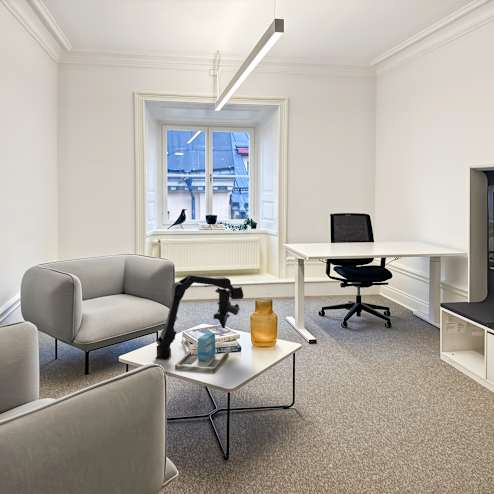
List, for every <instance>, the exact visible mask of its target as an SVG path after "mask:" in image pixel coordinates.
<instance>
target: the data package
mask: <svg viewBox="0 0 494 494" xmlns="http://www.w3.org/2000/svg"><path fill="white" fill-rule="evenodd" d="M215 355H216V334H215V333H211V332H206V333H204V334H203V335H201V336H199V337H198V338H197V360H198V361H202V362H207V361H209V360H210V359H212V358H213V357H214V356H215Z"/></svg>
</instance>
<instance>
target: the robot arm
mask: <svg viewBox="0 0 494 494" xmlns="http://www.w3.org/2000/svg"><path fill="white" fill-rule="evenodd" d="M193 284H202V285H209V286H210V285H211V286H215V287H217V289H216V290H214V292H215V293H217V294H218V302H217V305H218V309H217V311H216V313H214V314H213V320H218V322H219V324H220V326H221V329H225V328H226V324H227V321H228V319H229V318H230V317H231V314H232V315H234V316H237V315H239V312H240V306H239V304H237V303H236V304H235V305H233V304H232V302H231V301H230V300H232V301H233V300H243V298H244V291H243V287H242V286H235V287H234V286H233V285H232V282H231V280H230V279H229V278H227V277H226V276H216V277H215V276H213V277H211V276H205V275H203V276H202V275H196V274H191V273H190V274H188V275H187V276H186V277H183V278H181V279H180V280H178V281H176V282H174V283H173V284H172V286H171V303H170V306H169V310H168V314H167V319H166V323H165V325H164V326H163V328H162V330H161V333H160V336H159V337H158V338H157V339H156V345H157V346H156V356H155V359H157V360H168V359H170V358H171V357H172V349H171V345H172V343H174V340H176V335H177V330H176V329H175V323H176V320H177V315H178V311H179V308H180V307H179V306H180V302H181V300H182V299H183V297H184V295H185V293H186V290H188V289H189V288H190V287H191V286H192V285H193ZM229 313H230V314H229Z"/></svg>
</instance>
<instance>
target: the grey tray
mask: <svg viewBox="0 0 494 494" xmlns="http://www.w3.org/2000/svg"><path fill="white" fill-rule="evenodd" d="M228 356H229V351H228V350H226V351H225V353H224V354H223V355H222V356H221V358H220V359H219V361H218V362H217V364H216V365H215V366H212V367H210V366H208V367H207V366H198V365H197V366H196V365H189V364H184V362H185V361H186V360H187V359H188V358H189V357H192V355H191V350H189V352H187V353H186V354H185V355H184V356H183V357H182V358H181V359H179V361H177V363H175V365H174V369H175V370H180V371H181V370H183V371H189V372H190V371H191V372H203V373H212V374H213V373H216V371H217V370H218V369H219V368H220V366H221V365H222V364H223V363H224V362H225V360H226V359H227V358H228Z"/></svg>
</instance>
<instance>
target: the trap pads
mask: <svg viewBox="0 0 494 494" xmlns="http://www.w3.org/2000/svg"><path fill="white" fill-rule="evenodd" d="M196 360H198V357H197V356H195V357H194V356H190V357H189V358H188V359H187V360H186V361H185V362H184V363H183V365H192V364H194V362H195V361H196ZM219 360H220V359H216V358H213V359H212V360H211V362H210V363H209V364H208V367H214V366H215V365H216V364H217V362H218V361H219Z"/></svg>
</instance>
